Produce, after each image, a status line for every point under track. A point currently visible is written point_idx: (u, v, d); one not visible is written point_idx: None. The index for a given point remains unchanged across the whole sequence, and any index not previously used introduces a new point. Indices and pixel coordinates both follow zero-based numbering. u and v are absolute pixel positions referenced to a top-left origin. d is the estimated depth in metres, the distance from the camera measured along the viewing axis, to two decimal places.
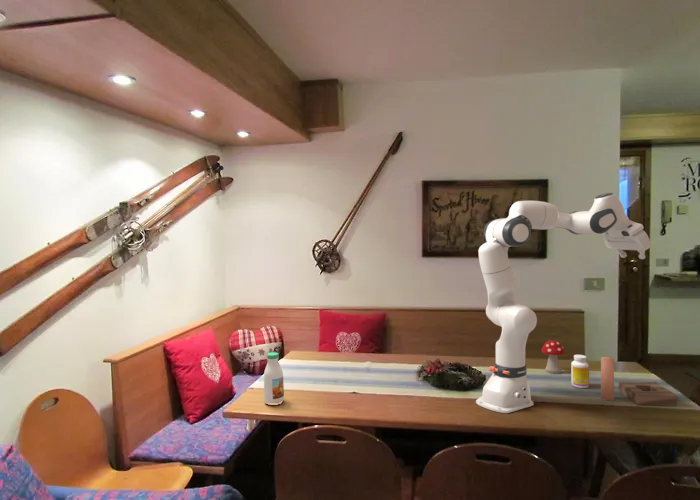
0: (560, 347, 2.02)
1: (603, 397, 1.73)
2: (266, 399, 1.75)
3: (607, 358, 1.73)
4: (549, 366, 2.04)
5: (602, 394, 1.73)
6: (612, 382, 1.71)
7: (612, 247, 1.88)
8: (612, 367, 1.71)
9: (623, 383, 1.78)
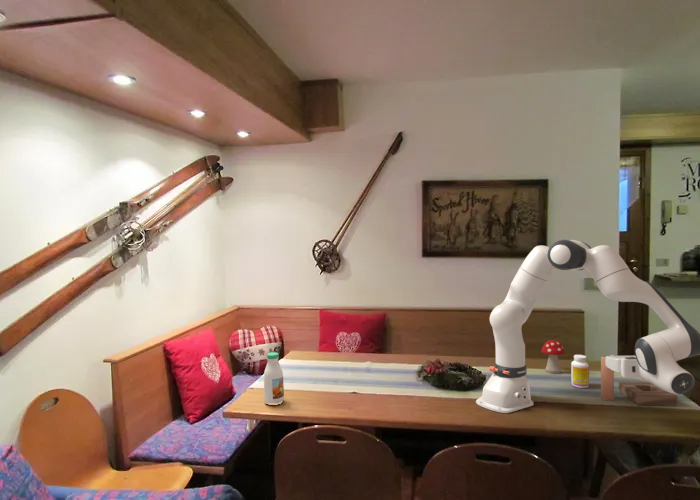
0: (560, 347, 2.02)
1: (603, 397, 1.73)
2: (266, 399, 1.75)
3: None
4: (549, 366, 2.04)
5: (602, 394, 1.73)
6: (612, 382, 1.71)
7: None
8: None
9: (623, 383, 1.78)
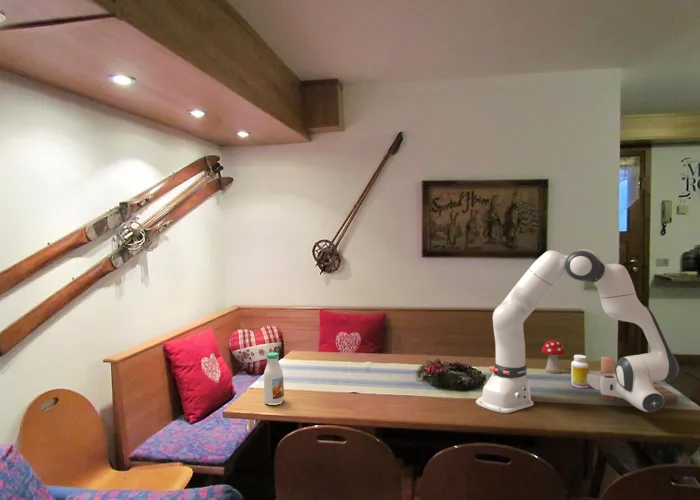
0: (560, 347, 2.02)
1: (603, 397, 1.73)
2: (266, 399, 1.75)
3: (607, 358, 1.73)
4: (549, 366, 2.04)
5: (602, 394, 1.73)
6: None
7: None
8: (612, 367, 1.71)
9: None
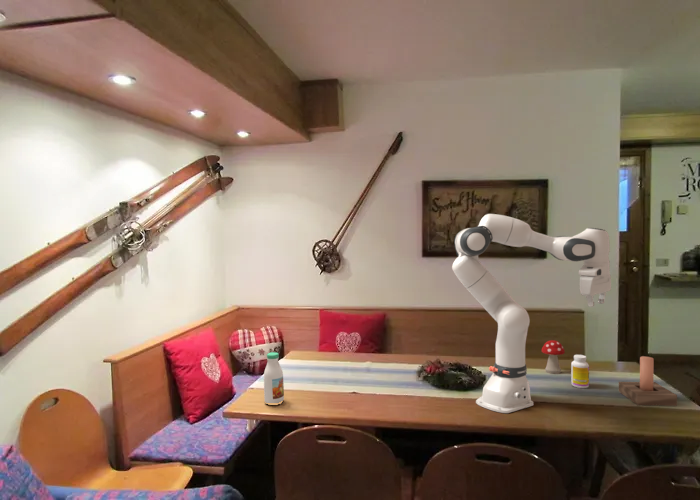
0: (560, 347, 2.02)
1: None
2: (266, 399, 1.75)
3: (646, 358, 1.72)
4: (549, 366, 2.04)
5: None
6: (652, 382, 1.70)
7: None
8: (652, 367, 1.70)
9: (623, 383, 1.78)
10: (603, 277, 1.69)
